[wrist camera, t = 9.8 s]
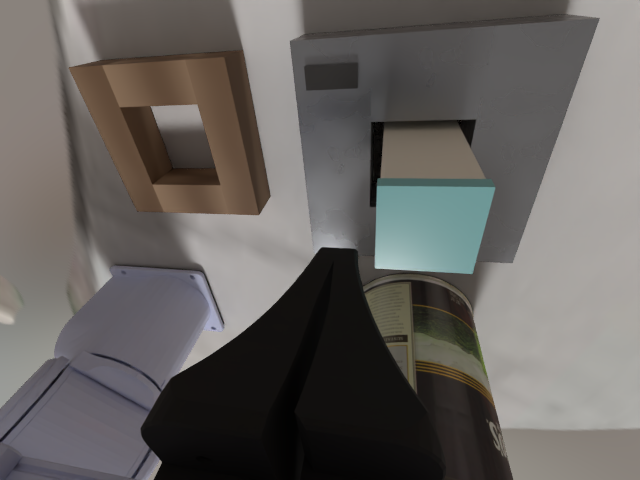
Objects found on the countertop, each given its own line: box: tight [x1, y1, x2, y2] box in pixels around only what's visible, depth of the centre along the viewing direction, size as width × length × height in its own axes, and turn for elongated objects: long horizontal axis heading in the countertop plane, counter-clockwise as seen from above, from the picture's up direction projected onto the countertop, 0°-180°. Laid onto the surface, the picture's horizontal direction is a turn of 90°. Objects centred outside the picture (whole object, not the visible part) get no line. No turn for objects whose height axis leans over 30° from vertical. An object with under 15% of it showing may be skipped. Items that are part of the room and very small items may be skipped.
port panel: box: [290, 14, 600, 263], centre depth 18 cm, size 12×12×3 cm
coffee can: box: [363, 274, 513, 480], centre depth 22 cm, size 10×10×14 cm
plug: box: [375, 120, 496, 274], centre depth 16 cm, size 4×4×9 cm
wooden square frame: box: [69, 50, 270, 215], centre depth 20 cm, size 9×9×2 cm
